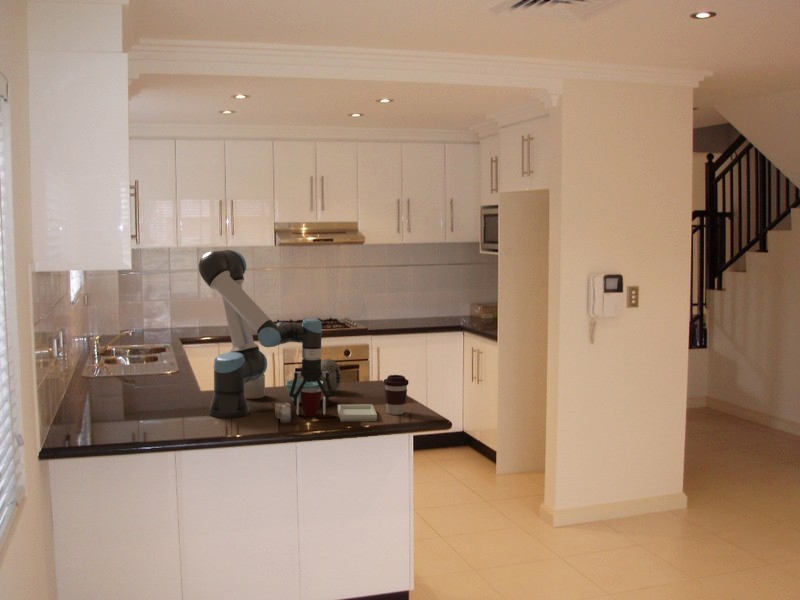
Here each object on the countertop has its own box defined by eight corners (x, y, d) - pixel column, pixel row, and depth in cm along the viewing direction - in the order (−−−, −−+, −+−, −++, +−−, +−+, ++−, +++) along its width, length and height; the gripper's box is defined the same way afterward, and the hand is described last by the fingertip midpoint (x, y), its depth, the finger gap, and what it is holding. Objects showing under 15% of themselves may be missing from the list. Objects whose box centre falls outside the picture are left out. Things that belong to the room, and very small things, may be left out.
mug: (302, 410, 330) (302, 386, 329) (322, 411, 331) (322, 387, 329) (299, 417, 320) (299, 392, 319) (319, 418, 320) (320, 392, 319)
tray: (340, 421, 316) (340, 415, 315) (337, 410, 332) (337, 404, 332) (376, 421, 318) (377, 414, 317) (372, 410, 334) (372, 404, 334)
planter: (235, 398, 349) (235, 376, 348) (245, 393, 360) (245, 371, 359) (258, 400, 347) (258, 378, 346) (268, 395, 357) (269, 373, 356)
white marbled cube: (278, 418, 317) (278, 406, 317) (275, 415, 322) (275, 403, 321) (290, 417, 319) (291, 405, 319) (287, 414, 324) (287, 402, 323)
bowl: (279, 403, 342) (279, 384, 342) (294, 395, 357) (295, 377, 356) (313, 407, 338) (314, 387, 337) (328, 399, 353) (328, 380, 352)
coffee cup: (379, 410, 334) (380, 374, 332) (402, 409, 338) (403, 373, 336) (388, 416, 325) (388, 379, 323) (411, 415, 328) (412, 378, 327)
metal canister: (280, 422, 312) (280, 407, 311) (280, 419, 316) (280, 404, 315) (290, 422, 312) (291, 407, 312) (290, 419, 316) (291, 404, 316)
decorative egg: (330, 396, 358) (331, 362, 356) (309, 392, 364) (309, 359, 362) (346, 391, 368) (346, 358, 366) (325, 388, 374) (325, 355, 372)
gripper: (283, 360, 318) (282, 416, 320) (340, 360, 321) (339, 415, 323) (282, 356, 325) (282, 411, 327) (339, 356, 328) (338, 411, 331)
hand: (310, 413), depth 325 cm, fingers open, 10 cm apart
